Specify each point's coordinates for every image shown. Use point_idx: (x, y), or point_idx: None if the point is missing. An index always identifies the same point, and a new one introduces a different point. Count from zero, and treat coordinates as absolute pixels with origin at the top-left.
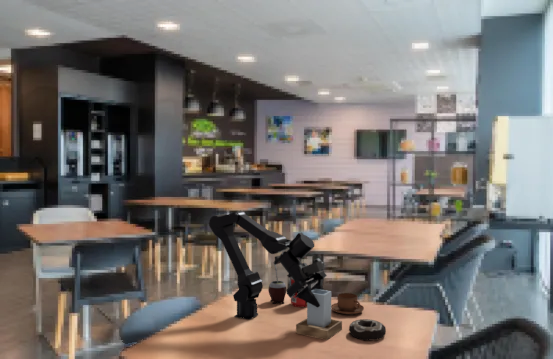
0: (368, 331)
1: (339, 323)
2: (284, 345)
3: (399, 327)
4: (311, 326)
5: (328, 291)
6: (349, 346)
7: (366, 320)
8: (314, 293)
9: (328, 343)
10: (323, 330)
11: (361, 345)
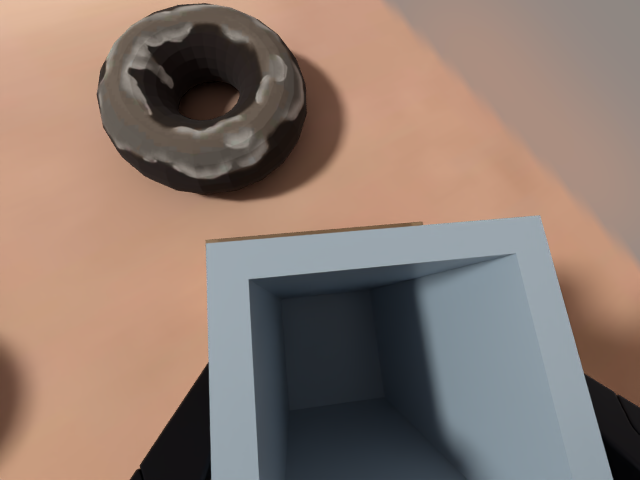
0: (286, 48)
1: (248, 237)
2: (602, 365)
3: (16, 38)
4: None
5: (252, 290)
6: (398, 121)
7: (141, 100)
8: (596, 446)
9: (432, 209)
10: None
11: (354, 88)
